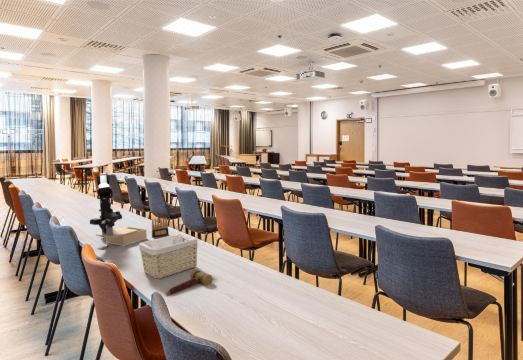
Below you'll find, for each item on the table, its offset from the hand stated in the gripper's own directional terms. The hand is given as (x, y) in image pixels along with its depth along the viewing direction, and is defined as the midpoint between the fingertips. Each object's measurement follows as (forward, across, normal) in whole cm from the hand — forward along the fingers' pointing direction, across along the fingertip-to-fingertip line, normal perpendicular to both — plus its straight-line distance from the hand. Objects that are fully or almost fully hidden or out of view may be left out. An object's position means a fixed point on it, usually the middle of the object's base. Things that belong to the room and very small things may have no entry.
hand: (107, 233), depth 224 cm
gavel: (+8, -28, -84) cm, 89 cm away
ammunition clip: (+8, +30, -12) cm, 34 cm away
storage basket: (+8, -14, -62) cm, 64 cm away
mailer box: (+8, +14, 0) cm, 16 cm away
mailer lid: (+2, +7, 0) cm, 7 cm away
